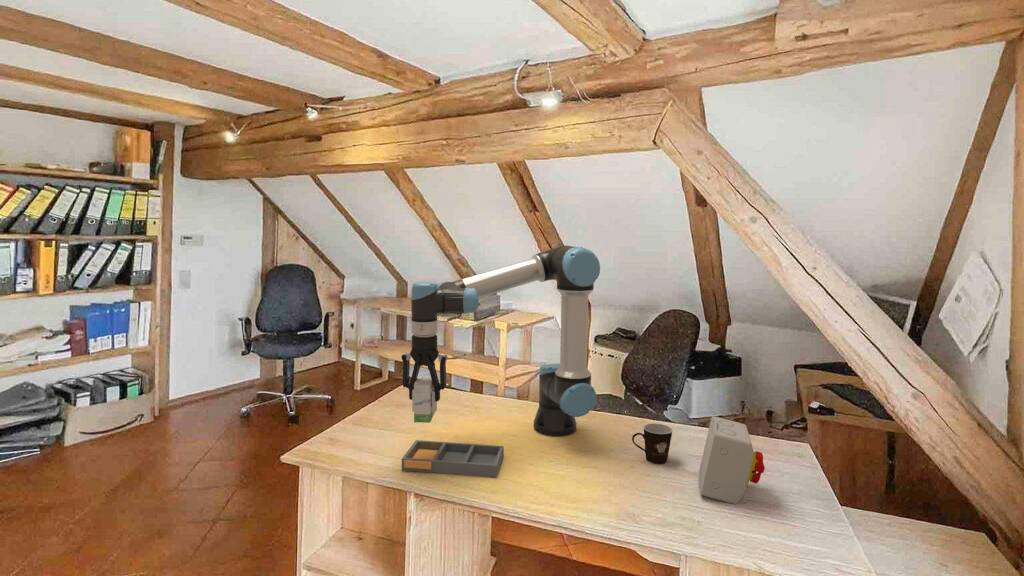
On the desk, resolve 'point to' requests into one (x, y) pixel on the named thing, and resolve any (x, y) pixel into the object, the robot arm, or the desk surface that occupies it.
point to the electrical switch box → (728, 461)
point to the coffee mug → (656, 442)
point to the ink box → (423, 399)
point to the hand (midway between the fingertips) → (424, 410)
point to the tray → (453, 458)
